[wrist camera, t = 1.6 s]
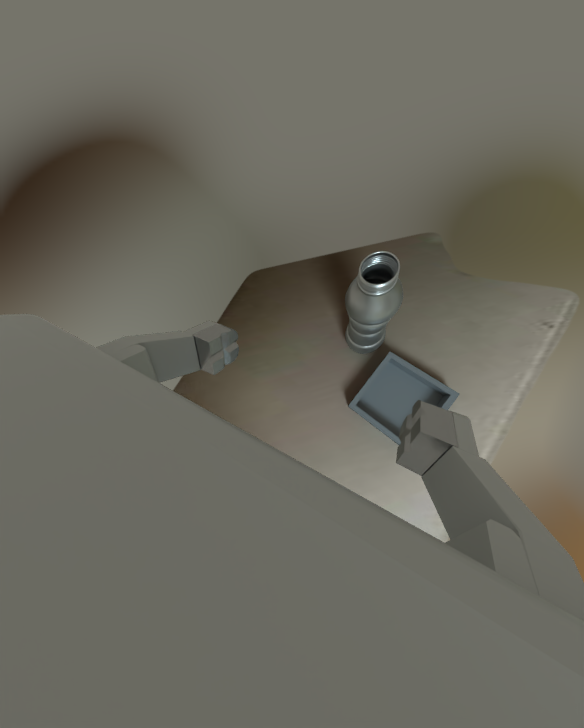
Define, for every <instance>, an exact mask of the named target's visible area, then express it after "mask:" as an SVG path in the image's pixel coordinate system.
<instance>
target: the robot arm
mask: <svg viewBox="0 0 584 728" xmlns="http://www.w3.org/2000/svg"><path fill="white" fill-rule="evenodd" d="M237 339H238V334H237V332H236V331H235V330H233V329H231V328H228V327H226V326H223V325H221V324H218V323H216V322H213V321H206V322H204V323H202V324H200V325H197V326H195V327H193V328H191V329H188V330H186V331H184V332H182V331H175V332H165V333H155V334H145V335H135V336H126V337H122V338H120V339H117V340H114V341H112V342H109V343H106V344H104V345H101V346H98V347H96V348H95V347H94V346H92V345H90V344H88V343H86V342H85V341H83V340H81V339H79V338H78V337H76V336H74V335H72V334H70V333H69V332H67V331H65V330H63V329H62V328H60V327H58V326H56V325H54V324H53V323H51V322H49V321H47V320H46V319H43V318H42V317H39V316H37V315H32V314H13V315H0V728H584V583H583V580H582V578H581V576H580V574H579V571H578V569H577V567H576V565H575V562H574V560H573V558H572V557H571V556H570V555H569V554H568V553H567V551H566V550H565V549H564V548H563V547H562V546H561V545H560V543H559V542H558V541H557V540H556V539H555V538H554V537H553V536H552V534H551V533H550V532H549V531H548V530H547V529H546V528H545V527H544V525H543V524H542V523H541V522H540V521H539V520H538V519H537V517H536V516H535V515H534V514H533V513H532V512H531V511H530V510H529V508H528V507H526V505H525V504H524V503H523V502H522V501H521V500H520V498H519V497H518V496H517V495H516V494H515V493H514V492H513V491H512V489H511V488H510V487H509V486H508V485H507V484H506V482H505V481H504V480H503V479H502V478H501V477H500V476H499V475H498V474H497V473H496V471H495V470H494V469H493V468H492V467H491V466H490V464H489V463H488V462H487V461H486V460H485V459H483V458H481V457H479V454H478V450H477V446H476V442H475V438H474V434H473V430H472V426H471V422H470V419H469V418H468V417H466V416H464V415H461V414H458V413H455V412H452V411H448V410H445V409H443V408H440V407H437V406H434V405H432V404H429V403H426V402H424V401H421V400H418V401H417V402H416V403H415V404H414V406H413V408H412V414H409V415H407V416H406V418H405V420H404V421H403V424H402V426H401V429H400V433H399V439H400V441H401V444H400V445H399V446H398V449H397V459H396V463H397V464H399V465H401V466H403V467H405V468H407V469H409V470H411V471H413V472H415V473H417V474H419V475H421V476H422V479H423V482H424V484H425V486H426V488H427V490H428V492H429V495H430V497H431V499H432V501H433V503H434V505H435V507H436V510H437V512H438V514H439V516H440V518H441V520H442V522H443V525H444V527H445V529H446V531H447V533H448V535H449V538H450V541H448V542H446V543H444V542H442V541H440V540H438V539H437V538H435V537H433V536H431V535H430V534H428V533H426V532H424V531H422V530H421V529H419V528H417V527H415V526H413V525H412V524H410V523H408V522H406V521H405V520H403V519H401V518H399V517H397V516H396V515H394V514H392V513H390V512H388V511H387V510H385V509H383V508H381V507H379V506H378V505H376V504H374V503H372V502H371V501H369V500H367V499H365V498H363V497H362V496H360V495H358V494H356V493H354V492H353V491H351V490H349V489H347V488H346V487H344V486H342V485H340V484H338V483H337V482H335V481H333V480H331V479H329V478H328V477H326V476H324V475H322V474H321V473H319V472H317V471H315V470H313V469H312V468H310V467H308V466H306V465H304V464H303V463H301V462H299V461H297V460H296V459H294V458H292V457H290V456H288V455H287V454H285V453H283V452H281V451H279V450H278V449H276V448H274V447H272V446H270V445H269V444H267V443H265V442H263V441H262V440H260V439H258V438H256V437H254V436H253V435H251V434H249V433H247V432H245V431H244V430H242V429H240V428H238V427H236V426H235V425H233V424H231V423H229V422H227V421H226V420H224V419H222V418H220V417H219V416H217V415H215V414H213V413H211V412H210V411H208V410H206V409H204V408H203V407H201V406H199V405H197V404H195V403H194V402H192V401H190V400H188V399H187V398H185V397H183V396H181V395H179V394H178V393H176V392H174V391H172V390H171V389H169V388H167V387H165V386H163V385H162V384H160V382H163V381H166V380H169V379H173V378H176V377H179V376H183V375H186V374H189V373H192V372H196V371H199V370H200V369H201V370H204V371H206V372H208V373H210V374H213V375H215V374H217V373H218V372H219V371H221V370H222V369H224V367H225V365H226V364H230V363H232V362H233V361H234V360H235V359H236V357H237V356H238V352H239V347H238V345H237V343H236V341H237Z"/></svg>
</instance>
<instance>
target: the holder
mask: <svg viewBox="0 0 584 728" xmlns="http://www.w3.org/2000/svg"><path fill="white" fill-rule="evenodd" d="M458 396H459V393H457V392H456V391H454V390H452V389H451V388H449V387H447V386H446V385H444V384H443V383H441V382H439V381H438V380H436V379H434V378H433V377H431V376H429V375H428V374H426V373H424V372H423V371H421V370H420V369H418V368H416V367H415V366H413V365H411V364H410V363H408V362H406V361H405V360H403V359H402V358H400V357H398V356H397V355H395V354H393V353H392V352H389V353H388V355H387V356H386V357H385V359H384V360H383V361H382V362H381V364H380V365H379V366H378V368H377V369H376V370H375V372H374V373H373V374H372V376H371V377H370V378H369V379H368V381H367V382H366V383H365V385H364V386H363V387H362V389H361V390H360V391H359V393H358V394H357V395H356V396H355V398H354V399H353V400H352V402H351V403H350V404H349V406H348V407H350V408H351V409H352V410H354V411H355V412H356V413H357V414H359V415H360V416H361V417H363V418H364V419H365V420H367V421H368V422H369V423H371V424H372V425H373V426H375V427H376V428H377V429H378V430H380V431H381V432H382V433H384V434H385V435H386V436H388V437H389V438H390V439H392V440H393V441H394V442H395V443H397V444H398V445H400V444H401V441H400V439H399V433H400V429H401V426H402V424H403V421H404V420H405V418H406V416H407V415H409V414H412V408H413V406H414V404H415V403H416V402H417V401H418V400H421V401H424V402H426V403H429V404H432V405H434V406H437V407H440V408H443V409H445V410H448V409H449V408H450V406H451V405H452V404H453V402H454V401H455V400H456V398H457V397H458Z"/></svg>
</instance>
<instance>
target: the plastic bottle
mask: <svg viewBox="0 0 584 728" xmlns="http://www.w3.org/2000/svg"><path fill="white" fill-rule="evenodd" d="M399 271H400V262H399V260H398V258H397V257H396V256H395V255H394V254H392V253H390V252H387V251H377V252H374V253H371V254H370V255H368V256H367V257H366V258H364V260H363V261H362V262H361V264H360V267H359V273H358V276H357V277H356V278H355V279H354V280H353V281H352V282H351V284H350V286H349V288H348V290H347V292H346V295H345V305H346V310H347V313H348V316H349V324H348V326H347V329H346V333H345V339H346V342H347V344H348V345H349V347H350V348H351V349H352V350H353V351H355V352H357V353H361V354H366V353H370V352H373V351H375V350H376V349H377V348H379V347H380V346H381V344H382V343H383V341H384V339H385V333H386V325H387V323H388V322H389V320H390V319H391V318H392V317H393V316H394V315H395V313H396V312H397V311H398V309H399V308H400V306H401V304H402V300H403V288H402V284H401V281H400V280H399V278H398V274H399Z"/></svg>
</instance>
